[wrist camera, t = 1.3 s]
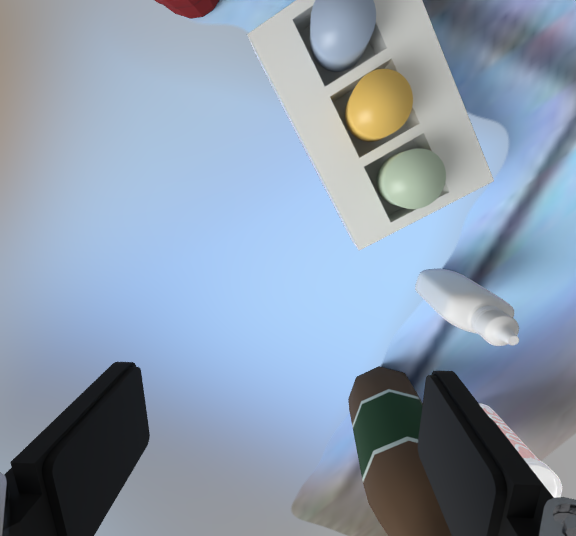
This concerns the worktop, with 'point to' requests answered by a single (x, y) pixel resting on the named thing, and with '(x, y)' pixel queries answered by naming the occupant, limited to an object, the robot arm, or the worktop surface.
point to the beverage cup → (528, 456)
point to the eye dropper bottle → (468, 305)
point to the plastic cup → (190, 7)
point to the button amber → (378, 105)
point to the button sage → (411, 178)
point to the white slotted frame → (332, 102)
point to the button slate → (341, 32)
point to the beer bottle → (393, 454)
